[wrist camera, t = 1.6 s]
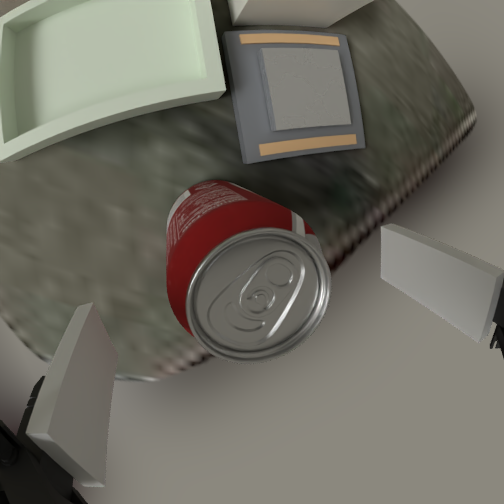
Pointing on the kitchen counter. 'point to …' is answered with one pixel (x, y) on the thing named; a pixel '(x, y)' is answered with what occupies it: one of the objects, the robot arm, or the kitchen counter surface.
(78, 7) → the trough
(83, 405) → the robot arm
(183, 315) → the soda can
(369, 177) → the kitchen counter surface
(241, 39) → the checker cradle
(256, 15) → the cup
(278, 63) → the platform
